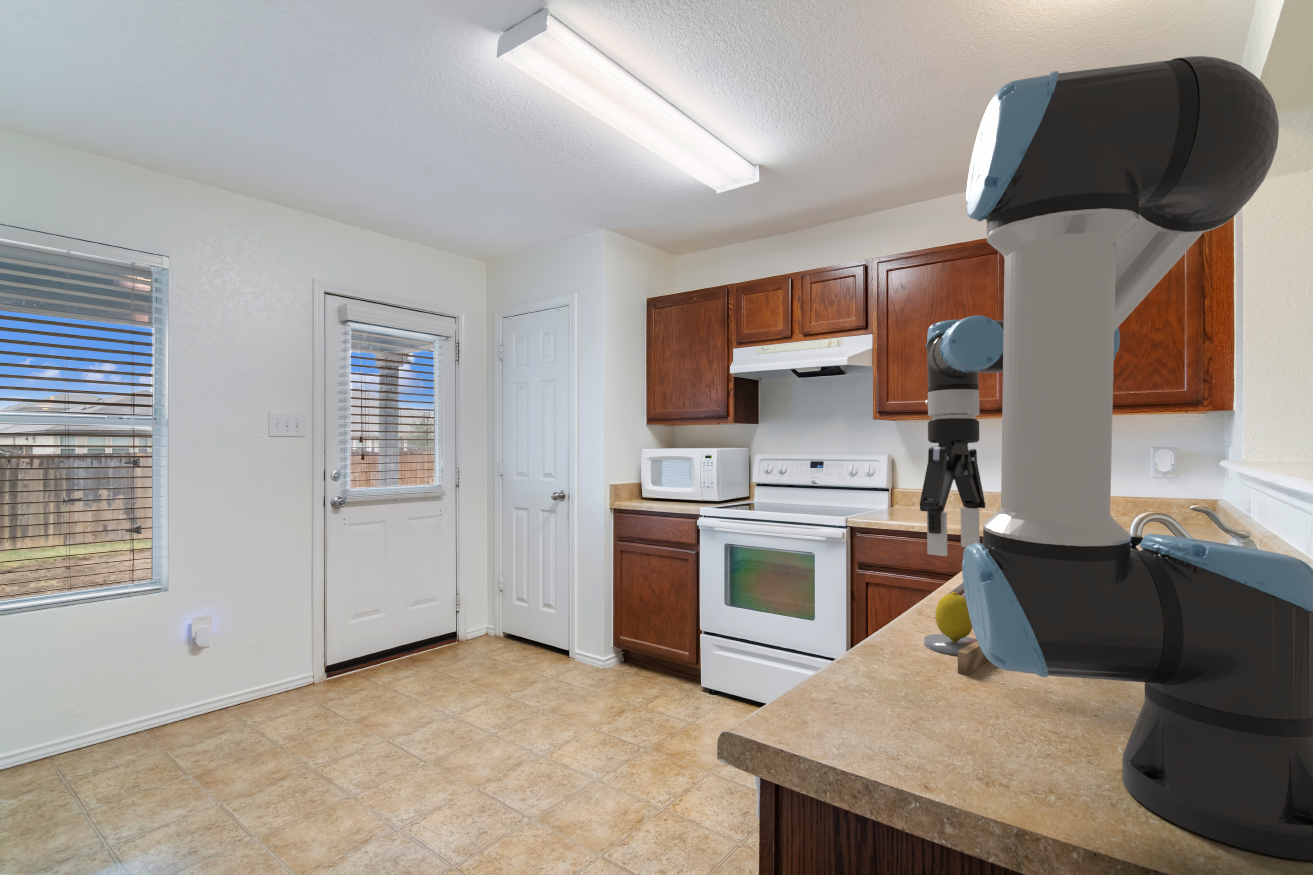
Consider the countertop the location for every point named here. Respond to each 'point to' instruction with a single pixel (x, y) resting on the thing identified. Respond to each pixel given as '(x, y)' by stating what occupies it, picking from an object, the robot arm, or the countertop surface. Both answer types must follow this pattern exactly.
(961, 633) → the lemon
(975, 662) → the divider
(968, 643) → the coaster
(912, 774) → the countertop surface
